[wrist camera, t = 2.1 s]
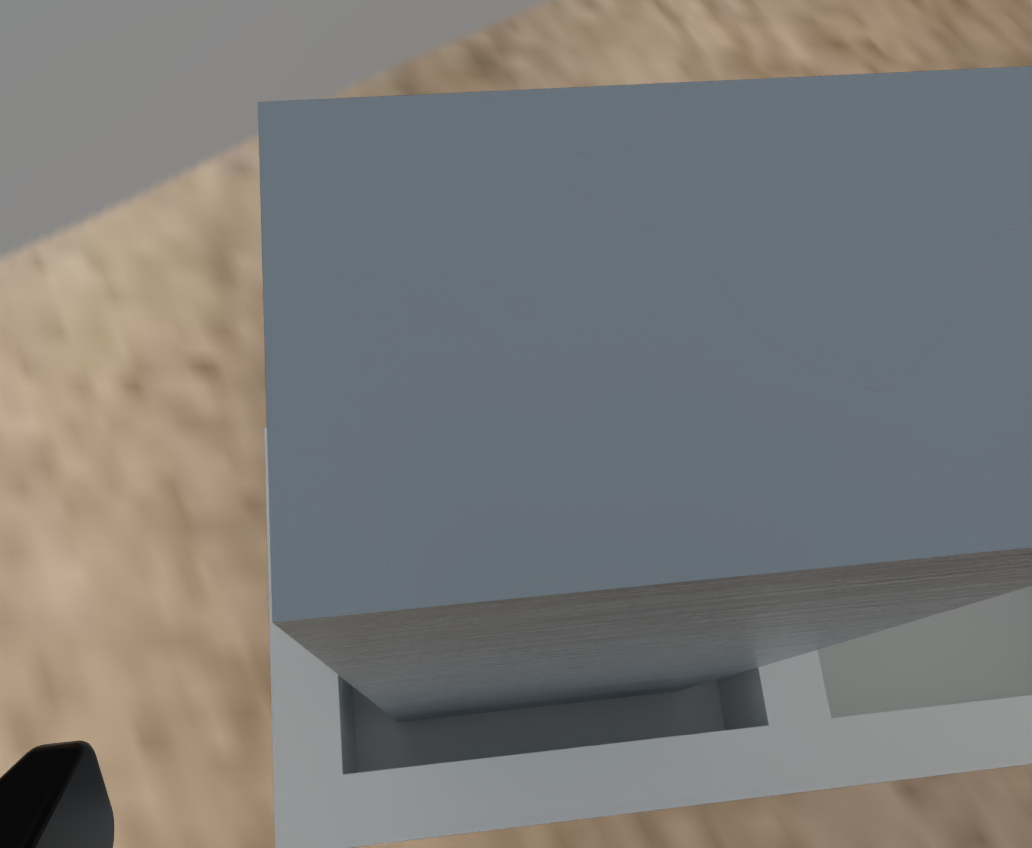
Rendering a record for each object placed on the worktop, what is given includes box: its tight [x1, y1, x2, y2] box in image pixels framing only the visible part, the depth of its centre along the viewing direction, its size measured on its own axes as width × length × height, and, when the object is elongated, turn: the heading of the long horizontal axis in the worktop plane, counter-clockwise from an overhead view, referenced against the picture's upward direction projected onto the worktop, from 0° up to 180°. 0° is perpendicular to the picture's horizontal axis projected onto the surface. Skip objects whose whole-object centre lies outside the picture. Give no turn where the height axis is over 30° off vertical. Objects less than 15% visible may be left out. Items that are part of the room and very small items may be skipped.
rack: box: [264, 428, 1032, 848], centre depth 17 cm, size 7×24×6 cm, turn 96°
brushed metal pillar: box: [258, 66, 1032, 722], centre depth 12 cm, size 3×5×13 cm, turn 96°
